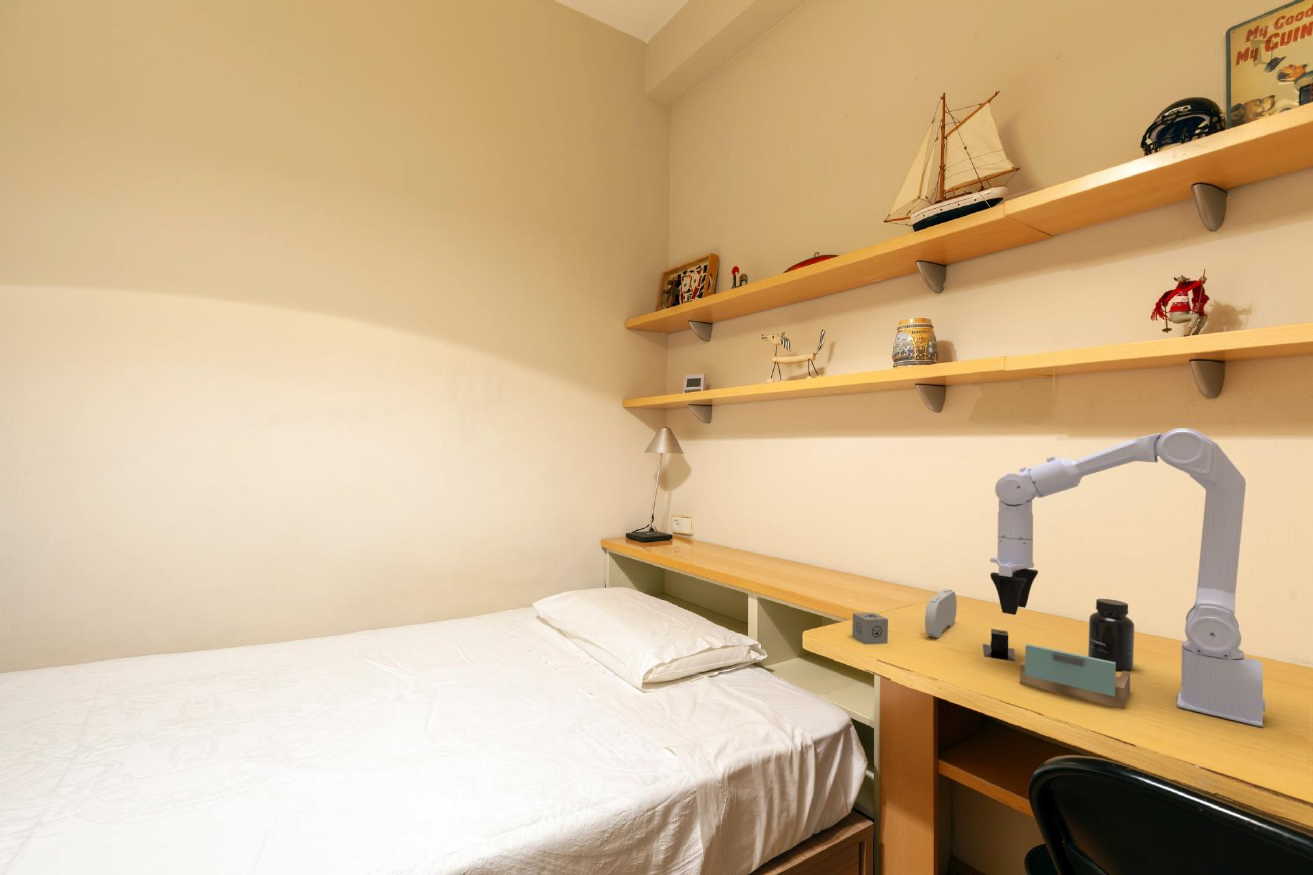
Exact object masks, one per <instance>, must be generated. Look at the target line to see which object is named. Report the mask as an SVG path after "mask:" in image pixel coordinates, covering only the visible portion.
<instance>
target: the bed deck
mask: <svg viewBox="0 0 1313 875" xmlns="http://www.w3.org/2000/svg"><path fill="white" fill-rule="evenodd" d="M1019 666H1020V667H1019V669H1020V671H1019V684H1021V685H1025V686H1028V687H1033V688H1037V689H1039V690H1040V689H1041V690H1044V691H1045V690H1046V691H1050V692H1052V693H1058V694H1062V695H1065V696H1068V697H1074V698H1077V699H1081V700H1085V701H1089V702H1092V703H1097V704H1100V705H1105V706H1109V707H1113V708H1116V709H1117V708H1118V709H1122V710H1124V709H1125V707H1126V703H1127V700H1128V698H1129V696H1130V693H1131V672H1130V671H1121V674H1120V675H1119V676H1116V677H1115V697H1114V696H1110V695H1106V694H1102V693H1097V692H1093V691H1089V690H1085V689H1081V688H1077V687H1072V686H1068V685H1064V684H1060V683H1056V682H1052V681H1047V680H1043V679H1039V678H1035V677H1031V676H1027V675H1025V659H1024V660H1023V661H1022V662H1021V663H1020V665H1019Z"/></svg>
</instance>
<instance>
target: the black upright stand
mask: <svg viewBox="0 0 1313 875" xmlns="http://www.w3.org/2000/svg"><path fill="white" fill-rule="evenodd" d="M982 651H983V657H984V658H990V659H994V660H1002V661H1007V662H1009V661H1010V662H1015V663H1016V662H1017V657H1016V653H1015V648H1012V647H1009V632H1008V630H1003V629H995V628H991V629H990V644H988V643H982Z"/></svg>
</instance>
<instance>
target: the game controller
mask: <svg viewBox="0 0 1313 875" xmlns="http://www.w3.org/2000/svg"><path fill="white" fill-rule="evenodd" d="M957 606H958V604H957V596H956V592H955V591H954V590H952V589H948V588H945V589H943V590H942V591H940V592H939V593H937V594H935V595H934V596H933V597H931V598H929V600H928V602H927V604H926V608H925V615H924V628H925V633H926V635H927V636H928V637H930V638H934V639H939V638H940V637H941V635H942V634H943V630H945V629H946V628H947V627H950V628H952V627H953V626H954V624H955V622H956V618H957V609H958V608H957Z"/></svg>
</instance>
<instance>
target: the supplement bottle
mask: <svg viewBox="0 0 1313 875" xmlns="http://www.w3.org/2000/svg"><path fill="white" fill-rule="evenodd" d="M1095 603H1096V605H1095V610H1097V611H1096V612H1094V613H1092V614H1090V615H1089V620H1088V621H1089V622H1088V649H1087V650H1088V652H1087V654H1088V656H1087V657H1092V658H1097V659H1101V660H1106V661H1111V662H1116V671H1119V672H1122V671H1126V672H1130V671H1131V670H1132V669H1133V668H1134V658H1135V657H1134V652H1135V650H1134V649H1135V623H1134V621H1133V620H1132V619H1130V618H1129V617H1128V615H1129V604H1128V603H1127V602H1124V601H1121V600H1116V599H1110V598H1109V599H1108V598H1097V599H1096V602H1095Z"/></svg>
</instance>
